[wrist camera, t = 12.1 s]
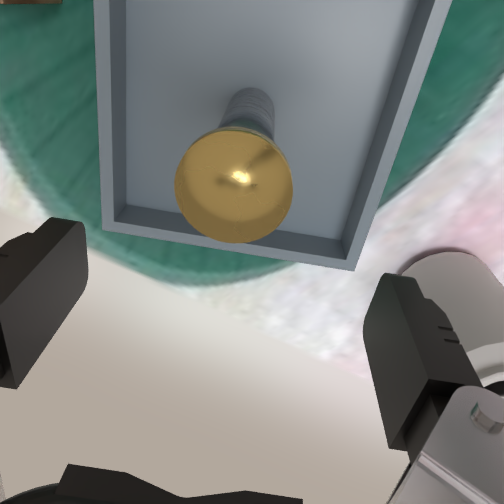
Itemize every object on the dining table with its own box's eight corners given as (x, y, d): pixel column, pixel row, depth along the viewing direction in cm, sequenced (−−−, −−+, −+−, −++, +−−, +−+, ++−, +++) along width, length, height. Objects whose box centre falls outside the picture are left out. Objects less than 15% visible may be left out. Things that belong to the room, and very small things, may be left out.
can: (431, 230, 30) (509, 345, 20) (508, 269, 32) (617, 396, 22) (371, 299, 34) (412, 426, 24) (443, 332, 36) (510, 465, 25)
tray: (438, -27, 22) (463, -31, 19) (346, 245, 31) (354, 271, 28) (115, -91, 21) (89, -106, 18) (119, 207, 31) (102, 229, 28)
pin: (292, 82, 25) (305, 144, 14) (278, 152, 27) (279, 251, 16) (220, 68, 24) (177, 122, 14) (212, 140, 27) (170, 233, 16)
